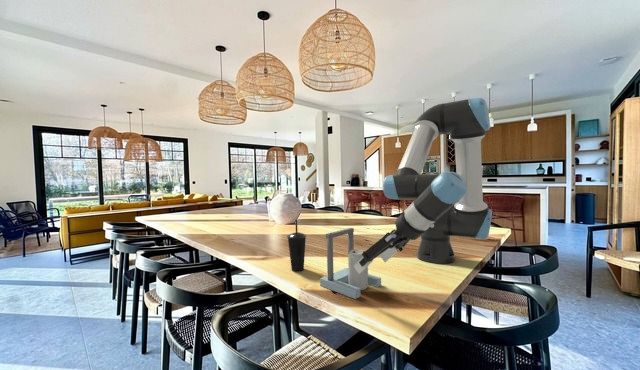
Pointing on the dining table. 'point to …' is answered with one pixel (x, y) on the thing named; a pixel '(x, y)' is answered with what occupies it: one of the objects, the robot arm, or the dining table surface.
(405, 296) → the dining table surface
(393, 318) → the dining table surface
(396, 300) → the dining table surface
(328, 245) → the grey arch frame
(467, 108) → the robot arm
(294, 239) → the drinking cup
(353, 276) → the beverage can
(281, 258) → the dining table surface
